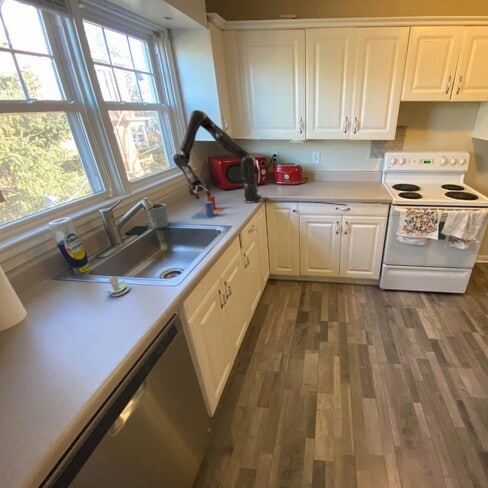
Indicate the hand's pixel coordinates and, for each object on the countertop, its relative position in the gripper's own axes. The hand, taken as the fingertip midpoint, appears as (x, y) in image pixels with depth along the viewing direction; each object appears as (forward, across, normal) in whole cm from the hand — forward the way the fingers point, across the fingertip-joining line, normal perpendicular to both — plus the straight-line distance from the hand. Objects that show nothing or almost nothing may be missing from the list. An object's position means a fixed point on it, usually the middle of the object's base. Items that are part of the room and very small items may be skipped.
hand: (204, 197), depth 193 cm
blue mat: (+16, -11, -6) cm, 20 cm away
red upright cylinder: (+10, 0, -1) cm, 10 cm away
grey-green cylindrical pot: (+13, -37, -3) cm, 39 cm away
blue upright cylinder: (+18, -9, -8) cm, 21 cm away
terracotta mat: (+11, 0, -1) cm, 11 cm away
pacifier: (+52, -79, -42) cm, 103 cm away
